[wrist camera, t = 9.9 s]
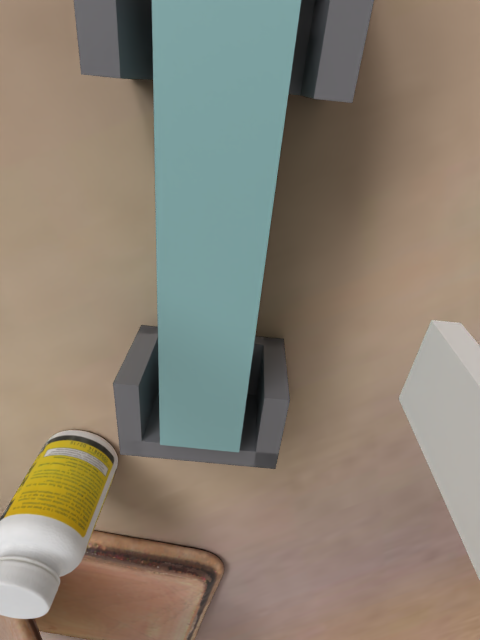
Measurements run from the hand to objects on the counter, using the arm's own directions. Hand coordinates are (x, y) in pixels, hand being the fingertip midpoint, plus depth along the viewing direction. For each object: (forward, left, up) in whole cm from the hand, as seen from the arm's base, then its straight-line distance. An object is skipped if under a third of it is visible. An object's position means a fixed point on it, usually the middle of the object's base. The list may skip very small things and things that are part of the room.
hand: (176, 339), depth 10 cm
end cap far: (+9, 0, -11) cm, 14 cm away
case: (+38, -9, -11) cm, 41 cm away
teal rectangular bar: (+1, 0, -10) cm, 10 cm away
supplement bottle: (+18, -9, -11) cm, 23 cm away
